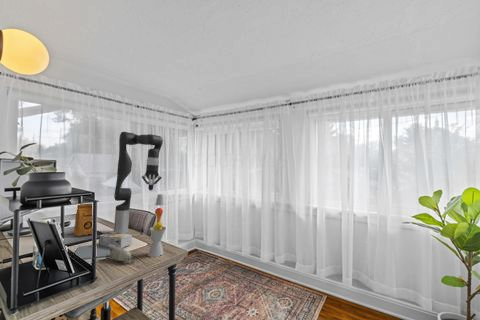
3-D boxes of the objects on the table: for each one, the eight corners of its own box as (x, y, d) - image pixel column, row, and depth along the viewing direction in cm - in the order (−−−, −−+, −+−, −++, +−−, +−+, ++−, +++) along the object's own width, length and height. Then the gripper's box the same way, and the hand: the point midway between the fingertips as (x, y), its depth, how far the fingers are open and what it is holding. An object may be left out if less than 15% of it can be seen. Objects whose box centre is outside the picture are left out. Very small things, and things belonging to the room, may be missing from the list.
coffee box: (131, 244, 136) (110, 241, 140) (132, 234, 137) (111, 231, 140) (120, 249, 128) (98, 245, 131) (121, 238, 128) (99, 235, 131)
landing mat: (78, 247, 128) (78, 246, 128) (120, 243, 138) (120, 242, 138) (70, 260, 110) (70, 259, 110) (119, 255, 120) (119, 254, 120)
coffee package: (97, 234, 152) (100, 203, 153) (75, 238, 143) (78, 205, 144) (93, 231, 159) (96, 201, 160) (72, 234, 150) (75, 202, 151)
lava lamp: (145, 253, 126) (150, 193, 128) (160, 250, 132) (165, 193, 133) (150, 258, 119) (155, 195, 121) (166, 255, 125) (170, 195, 126)
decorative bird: (125, 266, 109) (126, 251, 109) (103, 259, 115) (104, 245, 115) (134, 262, 114) (135, 248, 114) (112, 256, 120) (114, 242, 120)
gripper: (162, 165, 150) (160, 189, 149) (141, 163, 144) (139, 189, 143) (163, 165, 143) (161, 191, 143) (142, 163, 138) (139, 190, 137)
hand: (150, 190), depth 143 cm, fingers closed
